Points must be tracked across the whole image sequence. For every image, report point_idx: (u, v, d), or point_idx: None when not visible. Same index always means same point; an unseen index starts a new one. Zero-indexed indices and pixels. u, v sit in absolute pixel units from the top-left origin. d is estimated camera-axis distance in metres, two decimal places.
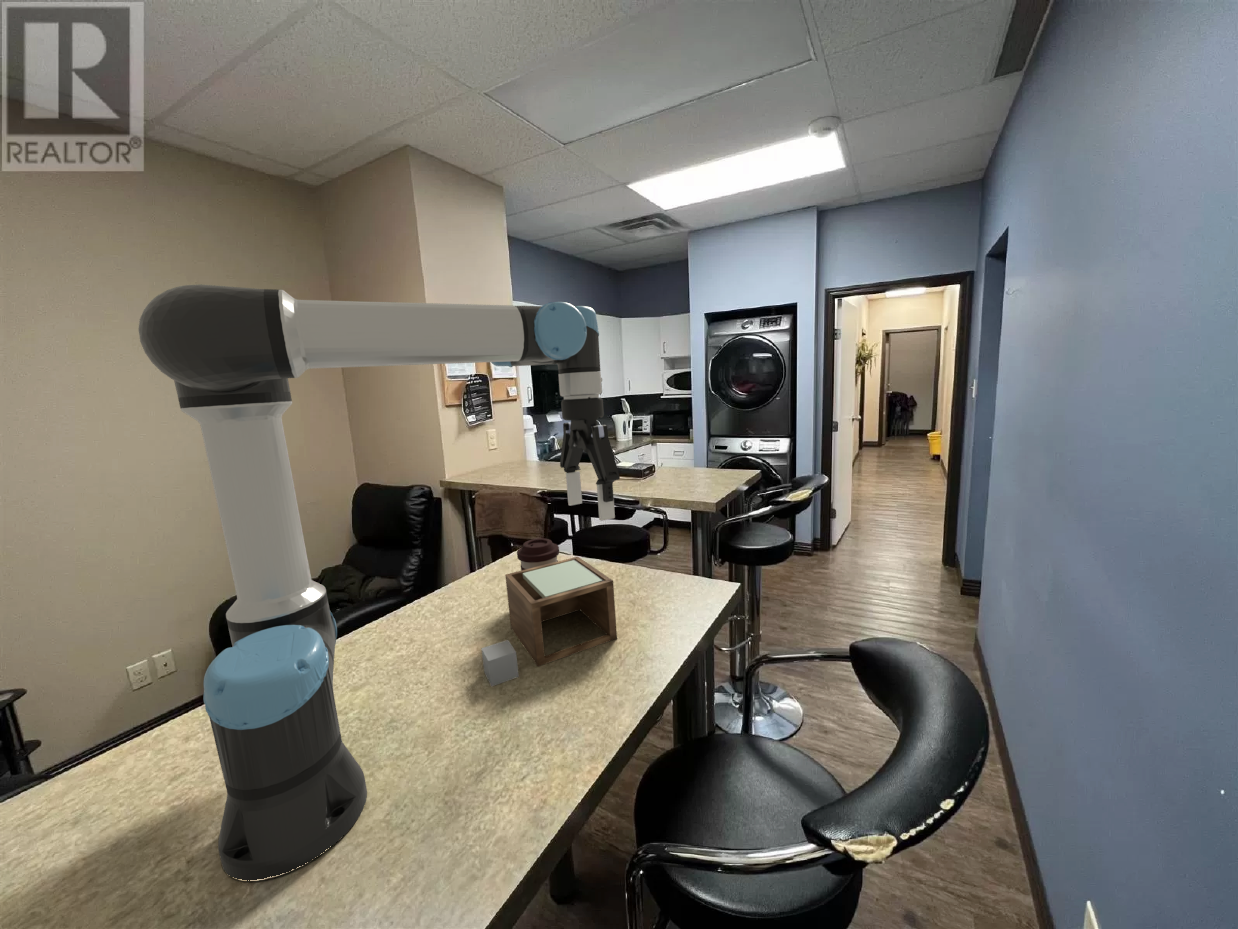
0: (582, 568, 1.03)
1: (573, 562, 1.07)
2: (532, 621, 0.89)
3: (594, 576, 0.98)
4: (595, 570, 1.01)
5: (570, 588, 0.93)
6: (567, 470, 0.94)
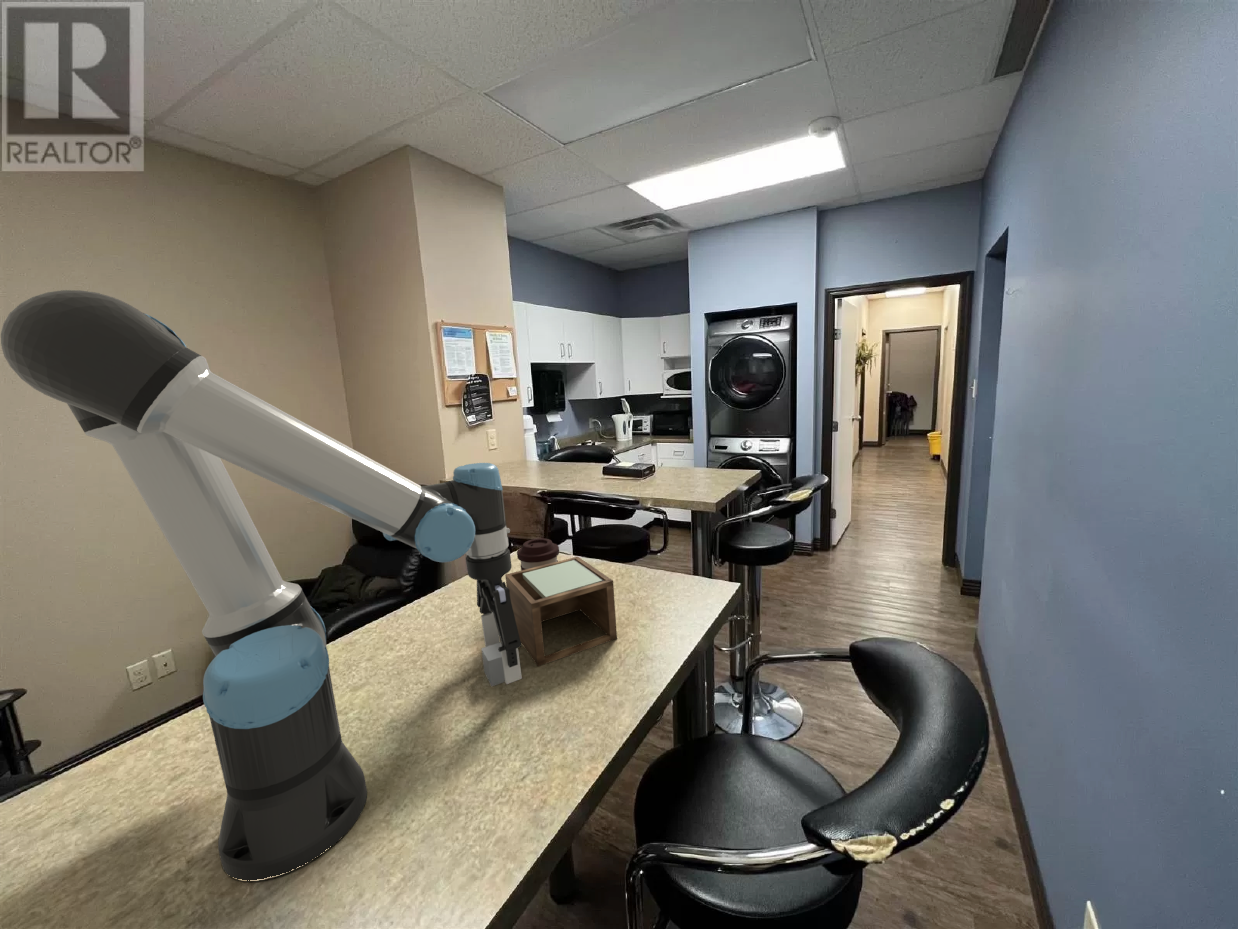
0: (582, 568, 1.03)
1: (573, 562, 1.07)
2: (532, 621, 0.89)
3: (594, 576, 0.98)
4: (595, 570, 1.01)
5: (570, 588, 0.93)
6: (482, 612, 0.92)
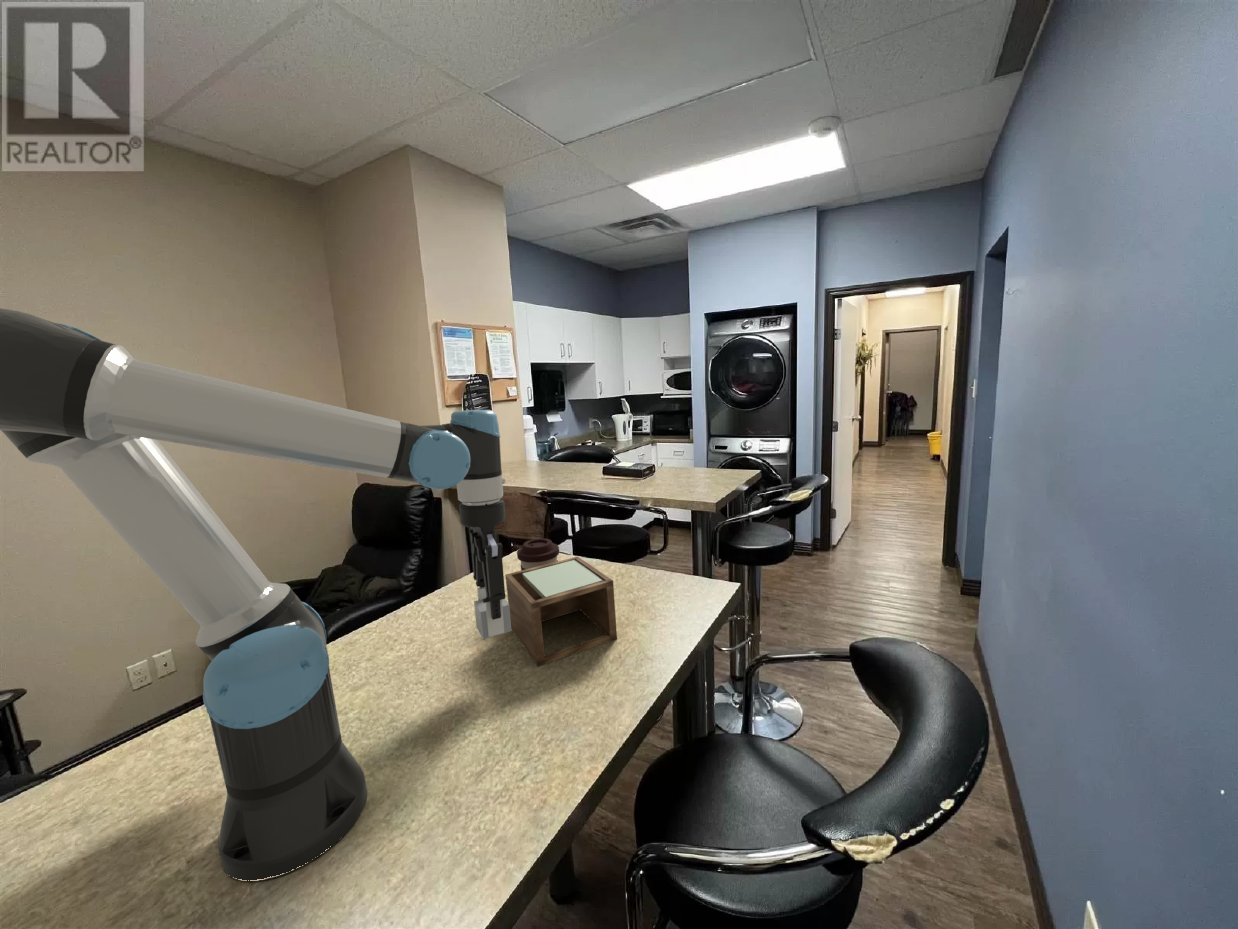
0: (582, 568, 1.03)
1: (573, 562, 1.07)
2: (532, 621, 0.89)
3: (594, 576, 0.98)
4: (595, 570, 1.01)
5: (570, 588, 0.93)
6: (479, 585, 0.87)
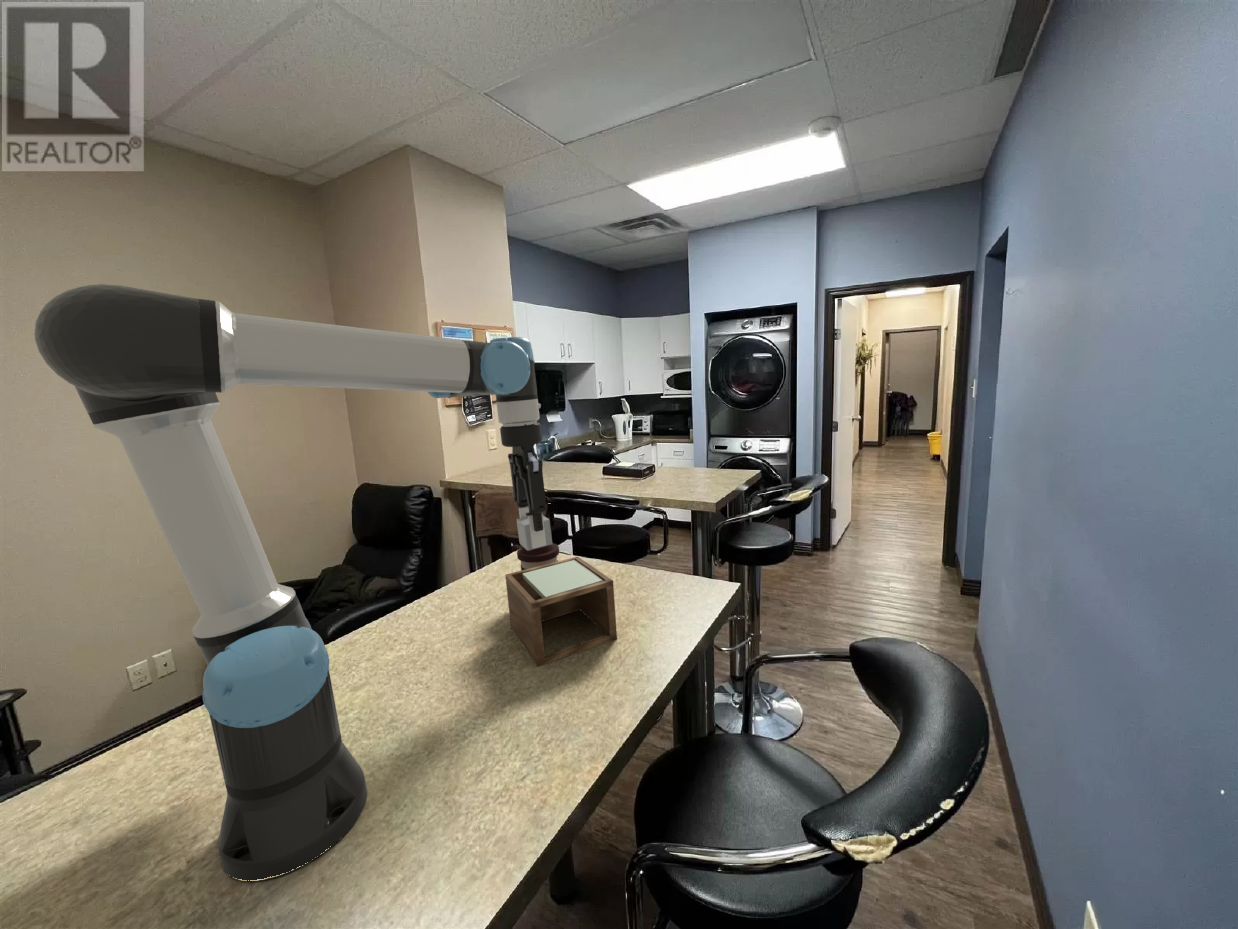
0: (582, 568, 1.03)
1: (573, 562, 1.07)
2: (532, 621, 0.89)
3: (594, 576, 0.98)
4: (595, 570, 1.01)
5: (570, 588, 0.93)
6: (520, 505, 0.94)
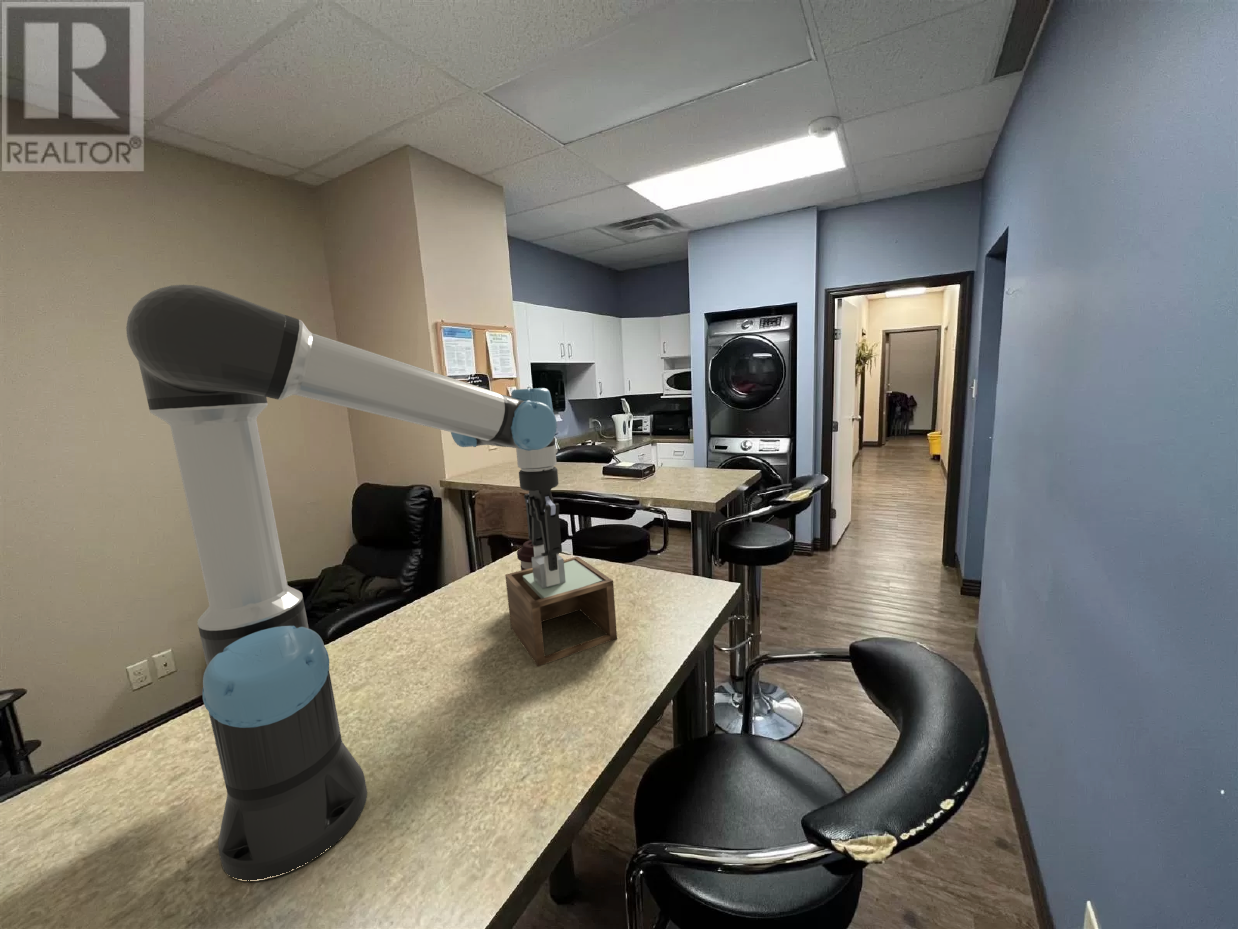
0: (582, 568, 1.03)
1: (573, 562, 1.07)
2: (532, 621, 0.89)
3: (594, 576, 0.98)
4: (595, 570, 1.01)
5: None
6: (535, 544, 0.99)
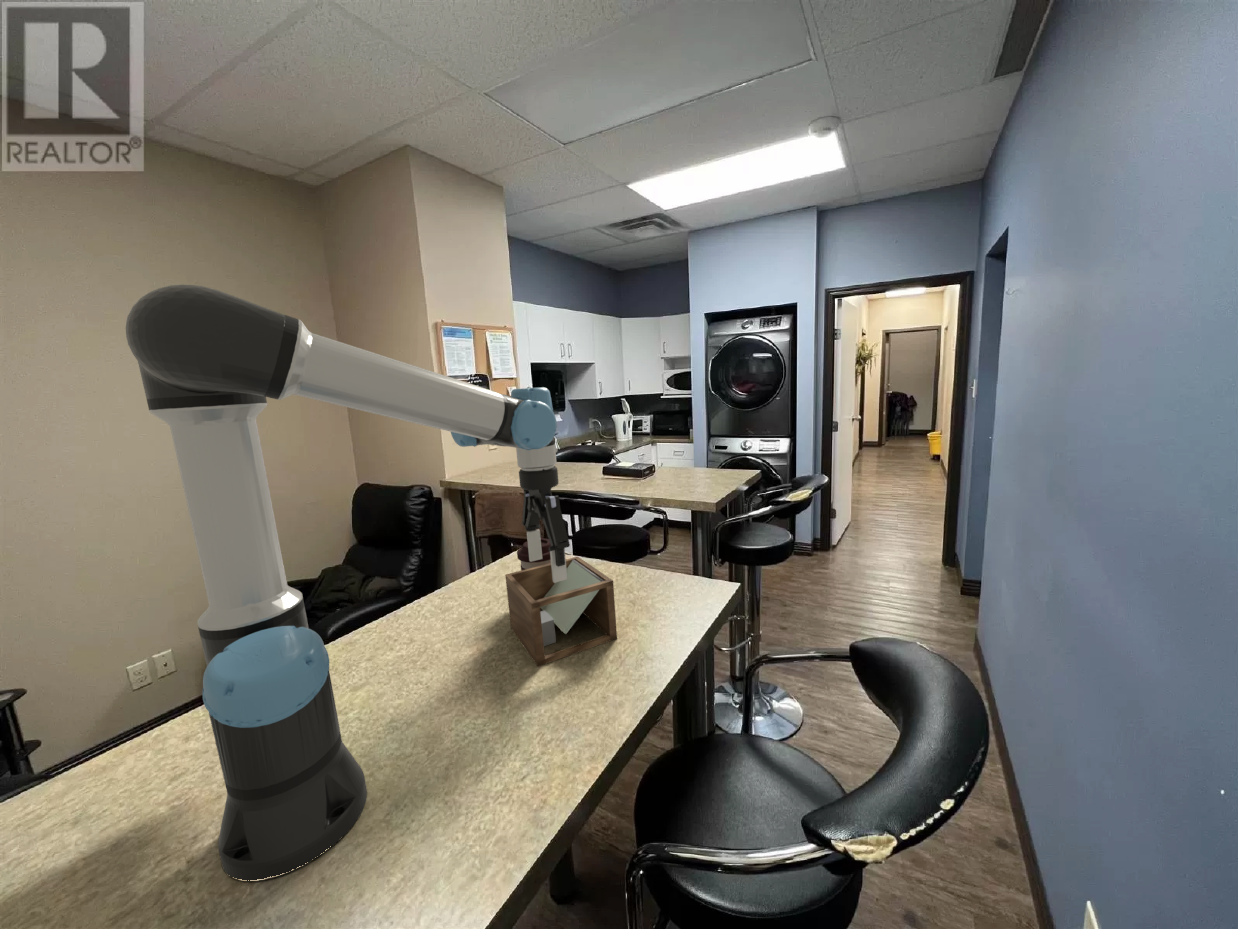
0: (581, 570, 1.03)
1: (572, 565, 1.07)
2: (532, 621, 0.89)
3: (593, 578, 0.98)
4: (595, 570, 1.01)
5: (578, 608, 0.95)
6: (528, 529, 1.02)
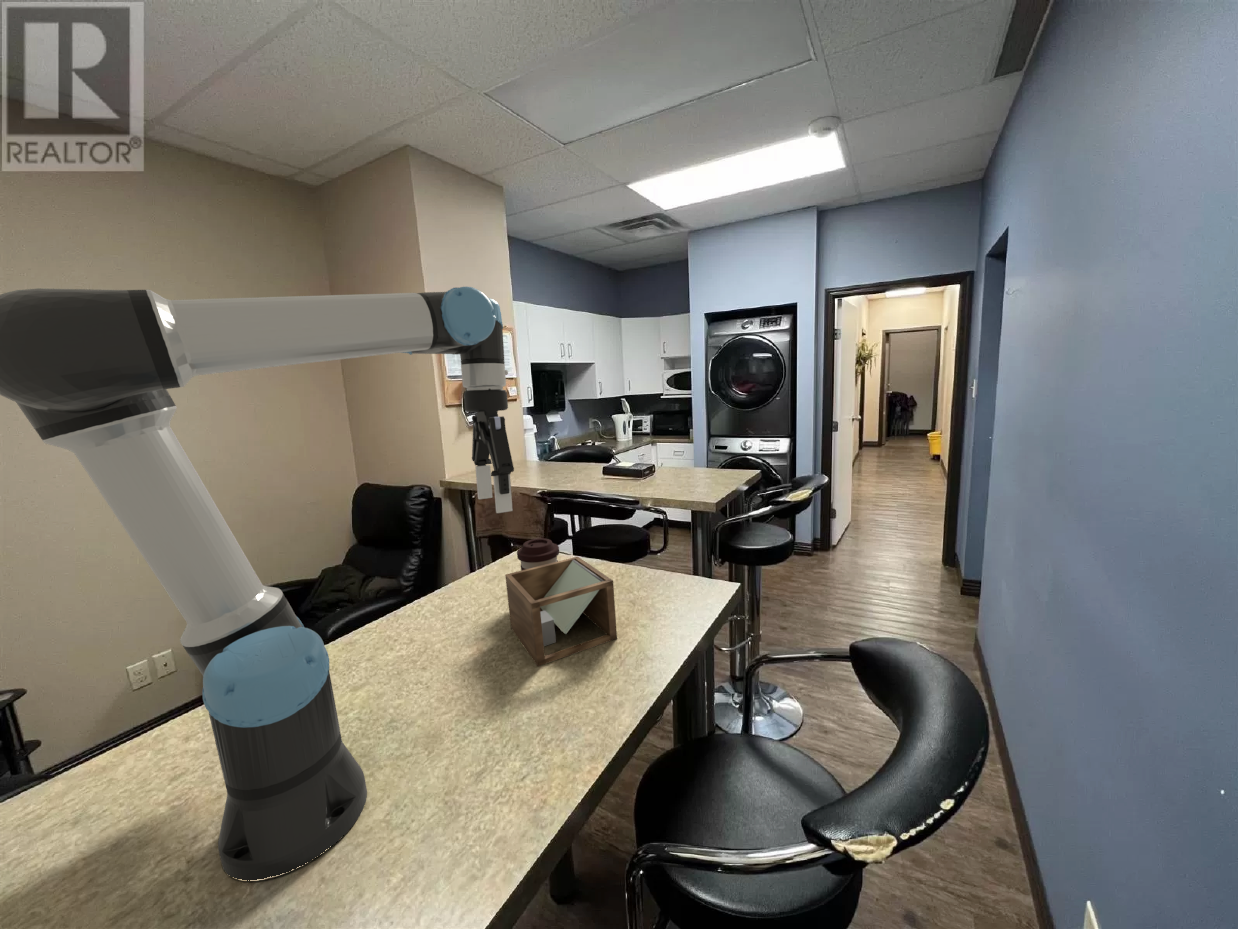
0: (581, 570, 1.03)
1: (572, 565, 1.07)
2: (532, 621, 0.89)
3: (593, 578, 0.98)
4: (595, 570, 1.01)
5: (578, 608, 0.95)
6: (477, 463, 0.94)
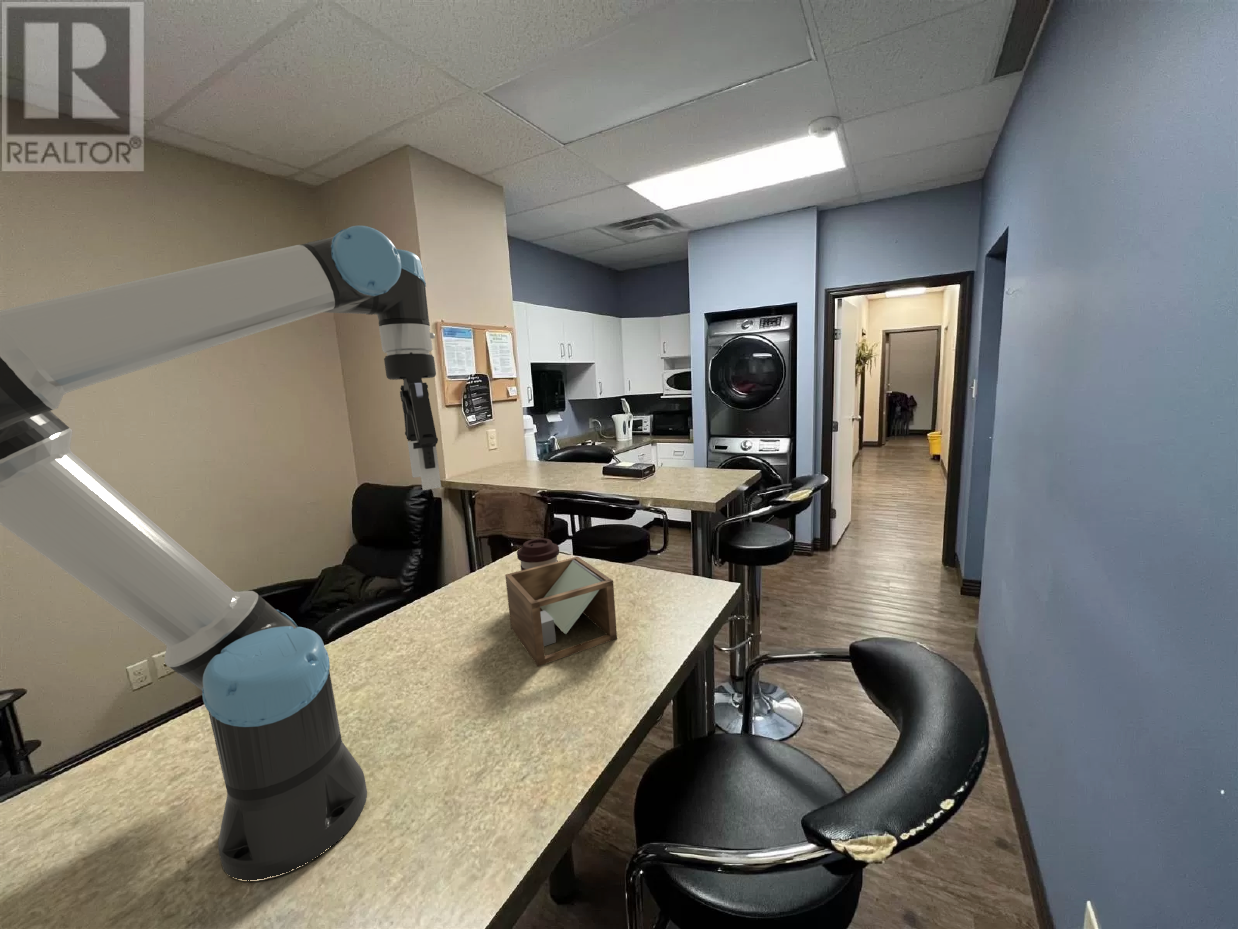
0: (581, 570, 1.03)
1: (572, 565, 1.07)
2: (532, 621, 0.89)
3: (593, 578, 0.98)
4: (595, 570, 1.01)
5: (578, 608, 0.95)
6: (409, 438, 0.86)
